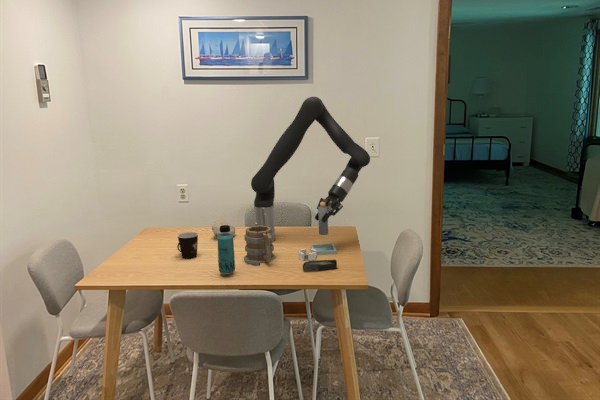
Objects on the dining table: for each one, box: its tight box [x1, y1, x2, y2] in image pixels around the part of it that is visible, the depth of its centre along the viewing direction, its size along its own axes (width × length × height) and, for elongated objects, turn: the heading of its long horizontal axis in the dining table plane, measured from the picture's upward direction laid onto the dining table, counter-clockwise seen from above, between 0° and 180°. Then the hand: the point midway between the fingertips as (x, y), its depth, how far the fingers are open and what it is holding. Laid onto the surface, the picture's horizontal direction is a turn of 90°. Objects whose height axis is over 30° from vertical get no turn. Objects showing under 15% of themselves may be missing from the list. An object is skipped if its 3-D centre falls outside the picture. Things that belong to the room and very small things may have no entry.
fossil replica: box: [211, 220, 236, 239], centre depth 232 cm, size 12×8×10 cm
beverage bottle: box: [216, 224, 236, 275], centre depth 183 cm, size 6×7×20 cm
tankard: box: [243, 225, 277, 266], centre depth 195 cm, size 20×13×15 cm, turn 22°
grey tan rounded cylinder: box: [317, 202, 329, 236], centre depth 203 cm, size 4×4×14 cm
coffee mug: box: [176, 231, 199, 260], centre depth 204 cm, size 12×9×10 cm
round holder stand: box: [297, 247, 318, 262], centre depth 198 cm, size 8×8×4 cm
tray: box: [310, 243, 338, 256], centre depth 207 cm, size 10×10×2 cm
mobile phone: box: [302, 259, 338, 273], centre depth 184 cm, size 5×3×15 cm
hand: (319, 220), depth 202 cm, fingers closed on grey tan rounded cylinder, 4 cm apart
